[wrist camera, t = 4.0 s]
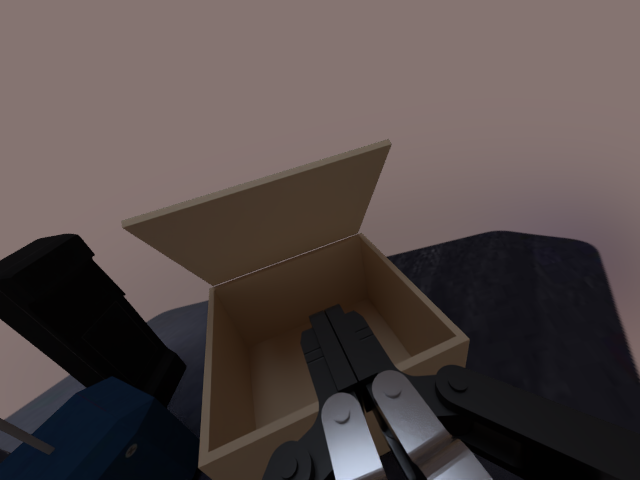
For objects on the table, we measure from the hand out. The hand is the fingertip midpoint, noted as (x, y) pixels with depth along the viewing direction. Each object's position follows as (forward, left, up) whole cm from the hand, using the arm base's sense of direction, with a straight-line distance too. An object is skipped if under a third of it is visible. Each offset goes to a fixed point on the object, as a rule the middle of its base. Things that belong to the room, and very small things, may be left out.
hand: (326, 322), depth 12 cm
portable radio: (-7, +28, -21) cm, 36 cm away
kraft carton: (+6, +8, -21) cm, 23 cm away
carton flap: (+8, +12, -2) cm, 15 cm away
